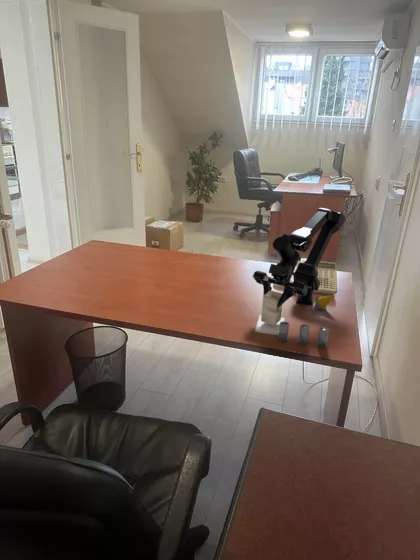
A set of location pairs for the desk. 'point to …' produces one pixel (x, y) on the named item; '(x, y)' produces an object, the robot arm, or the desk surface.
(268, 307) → the birch block
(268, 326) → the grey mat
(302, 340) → the cylinder
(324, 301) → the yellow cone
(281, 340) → the steel spacer
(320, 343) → the block
